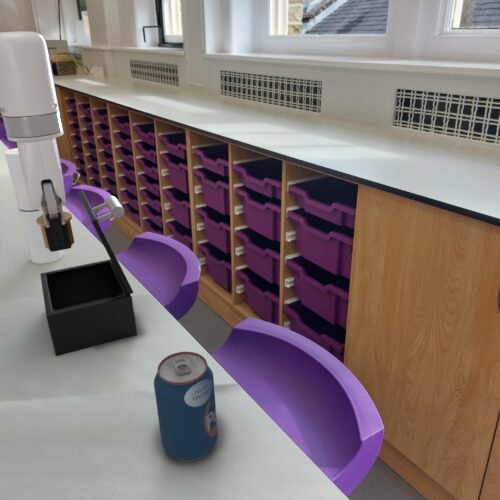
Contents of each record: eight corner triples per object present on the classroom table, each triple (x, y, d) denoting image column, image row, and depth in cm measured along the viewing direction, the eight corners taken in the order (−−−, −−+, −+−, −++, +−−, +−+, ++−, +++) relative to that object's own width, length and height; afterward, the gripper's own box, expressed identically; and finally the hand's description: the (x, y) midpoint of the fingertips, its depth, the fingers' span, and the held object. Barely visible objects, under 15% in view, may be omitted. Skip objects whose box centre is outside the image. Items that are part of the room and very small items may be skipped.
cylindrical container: (32, 253, 115) (7, 148, 105) (63, 248, 117) (42, 145, 107) (29, 265, 109) (2, 155, 99) (63, 260, 111) (40, 152, 101)
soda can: (225, 456, 59) (219, 377, 54) (168, 473, 57) (157, 392, 52) (209, 417, 65) (203, 343, 60) (158, 431, 63) (147, 355, 58)
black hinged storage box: (57, 364, 76) (46, 316, 73) (50, 316, 90) (40, 273, 86) (138, 342, 81) (131, 296, 77) (120, 299, 94) (113, 258, 91)
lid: (91, 221, 70) (124, 206, 72) (77, 192, 83) (106, 180, 85) (129, 295, 77) (158, 280, 78) (111, 257, 90) (137, 245, 92)
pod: (72, 249, 75) (66, 222, 73) (37, 251, 75) (31, 224, 73) (80, 236, 80) (75, 210, 78) (48, 238, 79) (42, 212, 77)
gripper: (5, 120, 75) (31, 229, 83) (5, 139, 61) (36, 269, 69) (56, 115, 78) (77, 221, 86) (67, 133, 64) (91, 258, 71)
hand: (59, 241), depth 77 cm, fingers closed on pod, 5 cm apart
